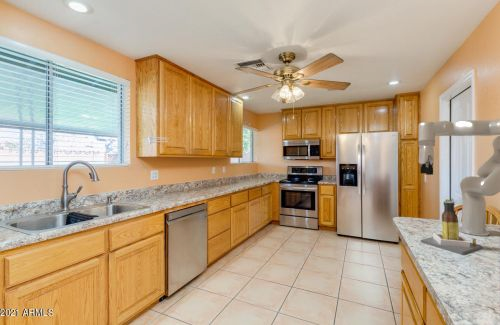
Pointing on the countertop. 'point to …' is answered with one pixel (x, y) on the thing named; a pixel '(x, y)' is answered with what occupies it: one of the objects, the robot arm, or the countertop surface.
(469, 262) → the countertop surface
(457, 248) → the locating plate
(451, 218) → the sauce bottle
